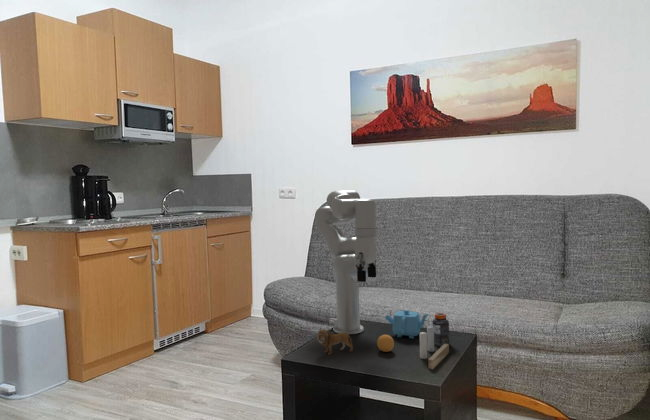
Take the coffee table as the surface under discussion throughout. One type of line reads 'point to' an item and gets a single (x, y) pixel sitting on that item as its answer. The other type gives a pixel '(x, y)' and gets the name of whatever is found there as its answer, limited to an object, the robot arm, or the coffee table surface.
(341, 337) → the lion figurine
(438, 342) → the pill bottle
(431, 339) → the grey pin
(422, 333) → the white pin
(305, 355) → the coffee table surface
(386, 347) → the ball
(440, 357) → the tan wooden bar
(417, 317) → the teapot
